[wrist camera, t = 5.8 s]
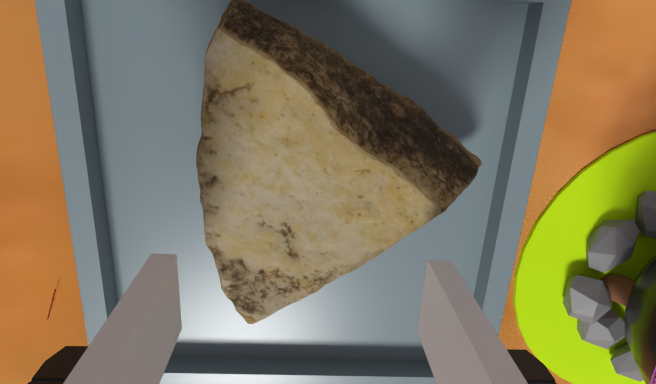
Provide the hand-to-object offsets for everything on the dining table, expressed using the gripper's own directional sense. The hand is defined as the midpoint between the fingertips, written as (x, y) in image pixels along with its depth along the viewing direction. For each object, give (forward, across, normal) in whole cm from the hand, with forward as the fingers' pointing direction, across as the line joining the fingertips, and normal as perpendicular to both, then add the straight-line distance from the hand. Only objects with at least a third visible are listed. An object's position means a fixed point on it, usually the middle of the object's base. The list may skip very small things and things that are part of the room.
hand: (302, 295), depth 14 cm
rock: (+8, -2, -2) cm, 8 cm away
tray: (+7, 0, +1) cm, 7 cm away
